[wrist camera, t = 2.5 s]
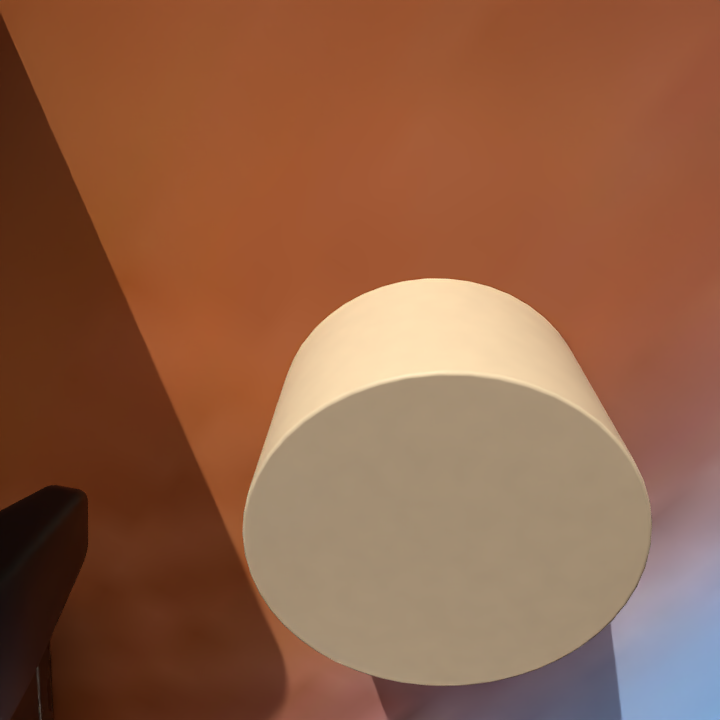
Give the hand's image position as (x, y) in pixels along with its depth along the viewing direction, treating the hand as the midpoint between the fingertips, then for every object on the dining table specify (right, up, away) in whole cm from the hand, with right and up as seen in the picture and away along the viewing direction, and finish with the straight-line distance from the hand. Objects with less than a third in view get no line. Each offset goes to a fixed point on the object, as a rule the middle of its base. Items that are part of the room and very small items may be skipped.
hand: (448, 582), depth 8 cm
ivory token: (0, +2, +3) cm, 4 cm away
